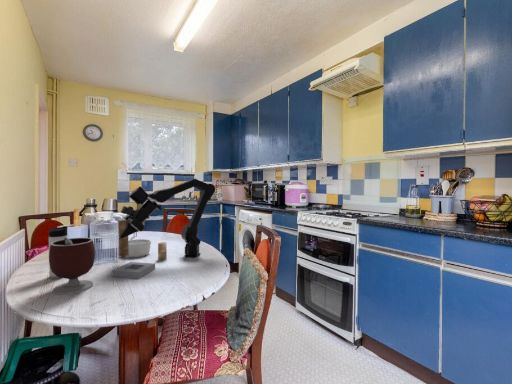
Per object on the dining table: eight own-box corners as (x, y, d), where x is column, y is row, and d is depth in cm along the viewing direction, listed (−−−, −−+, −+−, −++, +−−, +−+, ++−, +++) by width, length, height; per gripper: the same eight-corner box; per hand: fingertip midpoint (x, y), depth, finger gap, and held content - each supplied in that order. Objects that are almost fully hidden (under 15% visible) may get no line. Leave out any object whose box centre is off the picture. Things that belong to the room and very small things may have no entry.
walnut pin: (130, 254, 128) (129, 219, 128) (125, 256, 124) (124, 221, 124) (122, 253, 129) (121, 219, 128) (117, 256, 125) (116, 221, 124)
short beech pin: (168, 258, 140) (167, 242, 139) (164, 260, 136) (163, 244, 135) (160, 257, 140) (160, 242, 140) (156, 259, 137) (156, 243, 136)
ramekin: (155, 251, 152) (155, 239, 152) (143, 258, 139) (143, 244, 139) (132, 251, 153) (132, 238, 153) (118, 257, 140) (118, 244, 140)
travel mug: (73, 274, 115) (71, 226, 114) (57, 279, 109) (55, 229, 108) (62, 272, 117) (61, 225, 116) (45, 278, 111) (44, 228, 110)
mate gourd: (56, 283, 105) (55, 231, 104) (98, 279, 110) (97, 229, 109) (42, 300, 90) (40, 239, 90) (90, 294, 95) (89, 236, 94)
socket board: (155, 269, 122) (155, 263, 122) (138, 278, 111) (138, 272, 111) (130, 267, 125) (130, 261, 125) (112, 276, 113) (112, 270, 113)
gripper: (128, 198, 135) (103, 222, 130) (135, 201, 120) (107, 228, 114) (146, 213, 140) (122, 237, 135) (154, 217, 125) (128, 245, 119)
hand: (120, 237), depth 126 cm, fingers closed on walnut pin, 4 cm apart
